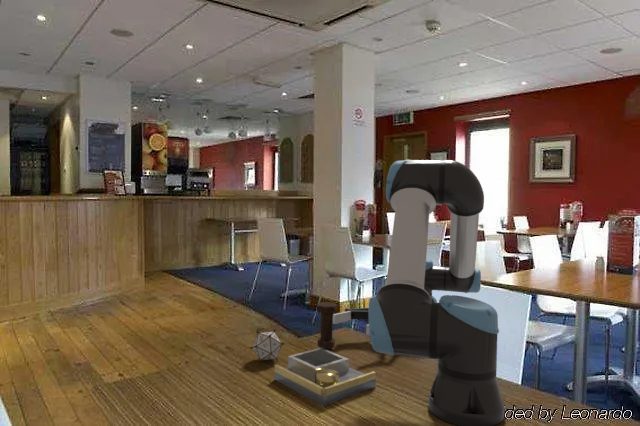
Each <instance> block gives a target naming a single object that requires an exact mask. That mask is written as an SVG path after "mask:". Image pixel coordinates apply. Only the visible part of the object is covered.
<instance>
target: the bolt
mask: <svg viewBox="0 0 640 426" xmlns="http://www.w3.org/2000/svg"><path fill="white" fill-rule="evenodd" d="M337 310H338V304H336V302H330V301H322V302H318V303H317V305H316V311H318V312H320V337H319V338H317V347H318V348H323V349H325V350H328V351H330V352H333V348H335V345H336V340H335V338H334V337H333V314H334V313H335V312H336V311H337Z"/></svg>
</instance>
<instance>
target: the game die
mask: <svg viewBox="0 0 640 426" xmlns="http://www.w3.org/2000/svg"><path fill="white" fill-rule="evenodd" d="M255 331H256V337H255V340H254V342H253V345H252V346H250V347H249V349H251V350H253V351H254V353H255V355H256V356H257V357H258V359H259V360H258V364H261V362H262V361H269V360H276V361H277V362H279V359H278V356H279V353H280V351H281V348H282V346H283V345H284V346H285V344H286V343H285V342H282V341H281V339H280V338H279V336H278V335H277V334H276V328H274V329H273V331H263V332H259V330H255Z"/></svg>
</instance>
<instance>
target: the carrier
mask: <svg viewBox="0 0 640 426" xmlns="http://www.w3.org/2000/svg"><path fill="white" fill-rule="evenodd" d="M349 361H350V359H349V358H348V357H346V356H342V355H340V354H337V353H336V352H333V351H332V352H330V351H328V350H325V349H323V348H320V347H318V348H314V349H311V350H310V349H309V350H306V351H302V352H299V353H295V354H291V355H288V356H287V367H286V368H285V367H283V366H282V365H279V364H275V365H274V370H273V371H274V373H273V374H274V375H273V377H274V378H273V379H274V381H276V382H278V383H280V384H281V385H283V386H285V387H287V388H289V389H291V390H293V392H294V391H295V392H296V393H297V394H300V395H302V396H304V397H306V398H307V399H309V400H311V401H312V402H315V403H317V404H318V405H320V406H322V407H325V406H328V405H330V404H333V403H336V402H339V401H341V400H344V399H348V398H350V397H352V396H355V395H358V394H361V393H363V392H367V391H368V390H369V391H370V390H371V389H374V388H376V383H377V381H376V380H377V379H376V378H377V372H376V371H370V372H367V373H363V372H361V371H358V370H357V369H354V368H351V367H350V362H349Z"/></svg>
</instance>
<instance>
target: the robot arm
mask: <svg viewBox="0 0 640 426" xmlns="http://www.w3.org/2000/svg"><path fill="white" fill-rule="evenodd" d="M484 193H485V192H484V191H483V186H482V184H481V182H480V180H479V178H478V177H477V176H476V175H475V173H474V172H473V171H472V169H470V168H469V167H468V166H467V165H465V164H463V163H461V162H459V161H457V160H452V159H444V160H441V159H440V160H435V159H433V160H432V159H431V160H429V159H425V160H424V159H421V160H419V159H404V160H396V161H394V162H392V164H391V166H390V167H389V170H388V174H387V177H386V186H385V196H386V197H385V198H386V201H387V203H389V204H390V206H391V209H392V210H393V211H394V220H393V226H392V235H391V243H390V249H389V257H388V266H387V274H386V282H385V284H384V285H382V286H381V287H380V288H379V289H378V292H377V296H374V297H370V298H369V301H368V307H355V308H345V309H344V311H342V312H337V313H333V322H332V323H333V324H334V325H338V324H340V323H345V322H350V321H352V320H368V324H366V326H365V327H366V328H365V330H366V331H365V334H366V336H369V339H370V340H369V341H370V344H371V348H372V349H373V350H374V352H377V353H380V354H388V355H391V356H402V357H413V358H422V359H431V360H438V361H437V373H436V375H435V378H434V380H433V382H432V387H431V388H430V391H429V394H428V408H429V409H428V410H429V411H430V412H431V414H432V415H434V416H435V417H437V418H438V419H440V420H442V421H444V422H447V423H450V424H451V425H456V426H497V425H499V424H501V423H502V422H503V421H504V419H505V403H504V400H503V396H502V393H501V390H500V387H499V386H500V385H499V383H498V380H497V370H498V369H497V368H498V367H497V365H498V364H497V363H498V362H497V360H498V334H499V333H500V330H499V319H498V318H499V315H498V312H497V310H496V308H494V307H493V306H492V305H491V304H489V303H487V302H484V301H483V300H478V299H475V298H472V297H467V296H462V295H457V294H456V295H455V294H454V295H453V294H452V295H451V294H450V295H449V294H446V295H442V296H440V299H439V301H437V299H436V298H435V296H434V295H433V291H438V292H439V291H443V292H454V293H465V294H469V293H474V294H477V293H479V292H480V290H481V285H482V283H481V282H482V281H481V279H482V277H481V275H482V273H481V269H479V268H476V262H477V261H476V260H477V247H478V234H479V232H478V230H479V221H480V220H479V218H480V217H479V216H480V213H482V211H483V210H484V208H485V207H484V205H485V195H484ZM437 205H446V207H447V210H448V211H449V212H450V214H449V215H450V219H449V220H450V225H449V264H448V265H449V266H435V265H434V262H433V261H432V260H431V259H427V252H428V251H427V250H428V238H429V237H428V236H429V223H430V222H429V221H430V215H431V214H433V212H434V211H435V209H436V207H437Z"/></svg>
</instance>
